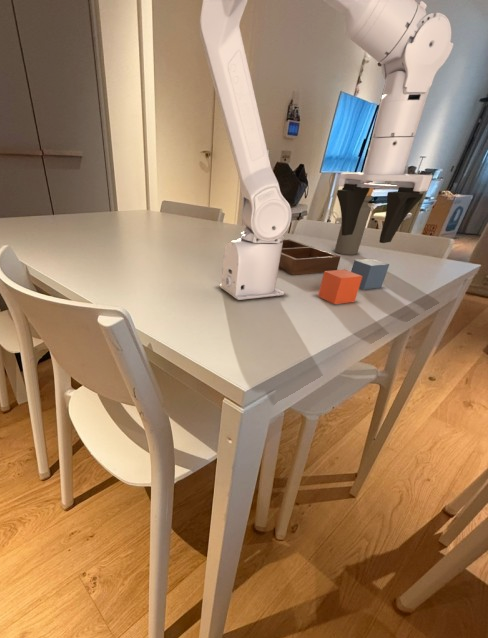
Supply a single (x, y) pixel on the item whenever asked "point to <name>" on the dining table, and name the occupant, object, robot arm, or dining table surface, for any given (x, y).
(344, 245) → the bottle
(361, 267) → the blue block
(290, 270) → the tray
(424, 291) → the dining table surface
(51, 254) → the dining table surface
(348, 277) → the terracotta block
